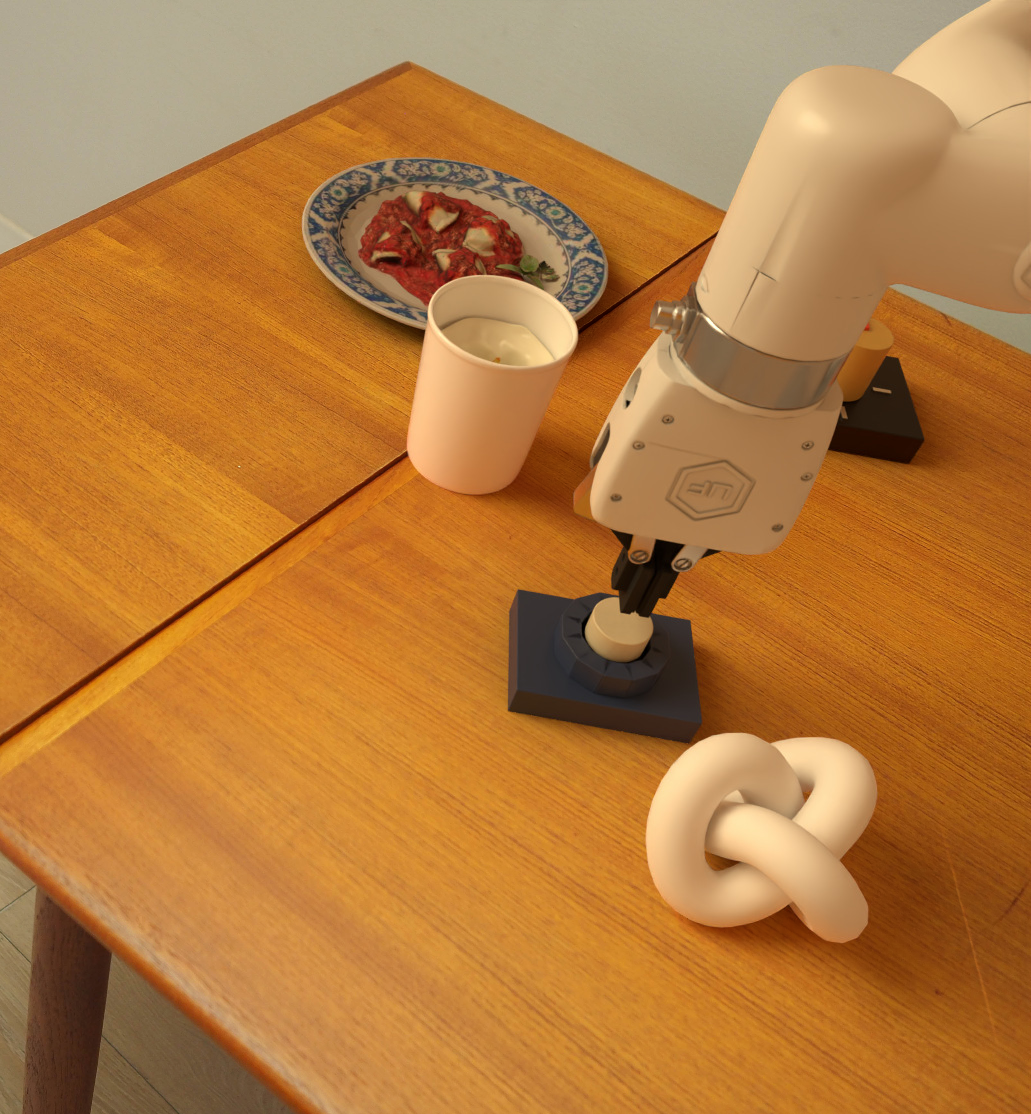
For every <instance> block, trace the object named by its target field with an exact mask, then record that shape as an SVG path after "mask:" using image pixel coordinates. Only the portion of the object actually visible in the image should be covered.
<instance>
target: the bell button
mask: <svg viewBox="0 0 1031 1114" xmlns="http://www.w3.org/2000/svg"><path fill="white" fill-rule="evenodd" d="M652 633H653V623H652V620H651V618H650V617H649V618H646V617H640V616H639V615H638V614H637V613H636V611H635V612H634V613H632V612H631V614H630V615H629V614H624V613H620V605H619V598H617V597H613V598H607V599H604V600H602V601H600V602H599V603H598V604H597V605H596V606H595V607H594V610H593V612H592V614H591V616H590V618H589V620H588V623H587V625H586V627H585V637H586V640H587V642H588V644H589V646H590V647H591V648H592V649H593V650H594V651H595V652H596V653H597V654H598V655H600V656H601V657H603V658H605V659H608V660H611V661H614V662H630V661H633V660H635V659H637V658H638V657H639V656H640V655H641V654H642V652H643V651H644V649H645V647H646V645H647V643H648V641H649V639H650V637H651V635H652Z"/></svg>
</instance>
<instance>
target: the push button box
mask: <svg viewBox="0 0 1031 1114" xmlns="http://www.w3.org/2000/svg"><path fill="white" fill-rule="evenodd" d="M613 597H617V598H619V594H613V593H612V594H611V593H607V592H601V591H600V592H595V593H591V594H588V595H584V596H580V597H577V598H571V597H564V596H559V595H552V594H549V593H548V594H547V593H543V592H536V591H532V590H526V589H520V588H517V590H516V592H515V595H514V598H513V600H512V603H511V605H510V608H509V610H508V662H507V664H508V666H507V671H508V672H507V712H510V713H515V712H516V713H515V714H521V715H527V716H531V715H532V717H536V718H537V717H538V718H543V719H549V720H554V719H556V720H555V721H559V722H560V721H561V722H565V721H566V722H565V723H570V722H571V724H576V723H577V725H582V726H588V727H594V728H599V729H603V730H609V729H610V731H615V730H616V732H621V731H623V732H621V733H627V734H631V735H632V734H633V735H637V734H638V736H643V735H644V736H643V737H648V736H650V737H649V738H655V739H659V738H660V739H659V740H667V741H671V740H672V742H676V741H677V742H676V743H682V744H687V743H688V745H690V744H691V742H692V741H693V740H694V738H695V736H696V735H697V733H698V732H699V730H700V728H701V726H702V725H703V717H702V709H701V699H700V690H699V682H698V681H699V680H698V673H697V664H696V655H695V647H694V646H695V645H694V638H693V629H692V621H691V620H690V619H688V618H687V619H685V618H680V617H676V616H671V615H670V616H669V615H664V614H659V613H654V612H652V613H651V615H650V618H651V620H652V623H653V633H652V635H651V637H650V639H649V641H648V643H647V645H646V647H645V649H644V651H643V652H642V654H641V655H640V656H639V657H638V658H637V659H635V660H633V661H630V662H614V661H611V660H608V659H605V658H603V657H601V656H600V655H598V654H597V653H596V652H595V651H594V650H593V649H592V648H591V647H590V646H589V644H588V642H587V640H586V637H585V627H586V625H587V623H588V620H589V618H590V616H591V614H592V612H593V610H594V607H595V606H596V605H597V604H598V603H599V602H600V601H602V600H604V599H607V598H613ZM689 743H690V744H689Z"/></svg>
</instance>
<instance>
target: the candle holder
mask: <svg viewBox="0 0 1031 1114" xmlns="http://www.w3.org/2000/svg"><path fill="white" fill-rule="evenodd" d="M576 322H577V321H575V320H574V318H573V316H572V315H571V313H570V312H569V311H568V310H567V308H566V307H565V306H564V305H563V304H562V303H561V302H560V301H558V300H557V299H556V298H554V297H553V296H552V295H550V294H549V293H547V292H545V291H544V290H542V289H540V288H538V287H536V286H533V285H531V284H529V283H526V282H523V281H520V280H516V279H512V278H508V277H502V276H494V275H474V276H467V277H462V278H458V279H455V280H453V281H450V282H448V283H446V284H445V285H443V286H442V287H440V288H439V289H438V290H437V291H436V292H435V293H434V295H433V296H432V298H431V300H430V303H429V306H428V318H427V324H426V330H424V336H423V341H422V347H421V353H420V360H419V365H418V371H417V376H416V381H415V387H414V393H413V399H412V405H411V412H410V417H409V423H408V428H407V430H408V431H407V436H406V452H407V456H408V458H409V461H410V462H411V464H412V465H413V467H414V468H415V470H416V471H417V472H418V473H419V474H420V475H421V476H422V477H423V478H425V479H426V480H427V481H428V482H430V483H432V484H434V485H435V486H437V487H440V488H441V489H444V490H447V491H449V492H453V493H457V494H461V495H470V496H481V495H488V494H493V493H497V492H499V491H502V490H504V489H505V488H507V487H508V486H509V485H511V484H512V483H513V482H514V481H515V480H516V478H517V477H518V475H519V474H520V472H521V470H522V467H523V466H524V464H525V461H526V459H527V457H528V455H529V453H530V450H531V448H532V446H533V444H534V441H535V439H536V437H537V435H538V432H539V430H540V427H541V425H542V423H543V421H544V418H545V416H546V414H547V411H548V409H549V407H550V405H551V402H552V400H553V398H554V395H555V393H556V391H557V388H558V386H559V384H560V381H561V379H562V377H563V375H564V372H565V370H566V368H567V366H568V363H569V362H570V359H571V357H572V355H573V353H574V352H575V350H576V348H577V346H578V342H579V330H578V326H577V323H576Z"/></svg>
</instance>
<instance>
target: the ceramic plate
mask: <svg viewBox="0 0 1031 1114" xmlns="http://www.w3.org/2000/svg"><path fill="white" fill-rule="evenodd" d="M312 192H313V193H312V194H311V195H310V196H309V198H308V200H307V201H306V204H305V205H304V208H303V209H304V210H303V212H302V217H301V233H302V234H301V235H302V238H303V242H304V244H305V247H306V249H307V252H308V254H309V255H310V257H311V259H312V261H313V262H314V264H315V265H316V266H317V268H318V269H319V270H320V272H322V274H323V275H324V276H325V277H326V278H327V279H328V280H329V281H330V282H331V283H332V284H333V285H335V286H336V287H337V288H338V289H339V290H341V292H343V293H345V294H346V295H347V296H348V297H350V298H352V300H355V301H356V302H358V303H359V304H360V305H362V306H364V307H366V308H368V309H369V310H371V311H374V312H376V313H378V314H379V315H382V316H384V317H386V318H389V319H391V320H394V321H396V322H398V323H401V324H404V325H407V326H409V327H413V328H416V329H420V330H423V331H425V330H426V324H427V318H428V306H429V303H430V300H431V298H432V296H433V295H434V293H435V292H436V291H437V290H438V289H439V288H440V287H442V286H443V285H445V284H446V283H448V282H450V281H453V280H455V279H458V278H462V277H467V276H474V275H494V276H502V277H508V278H512V279H516V280H520V281H523V282H526V283H529V284H531V285H533V286H536V287H538V288H540V289H542V290H544V291H545V292H547V293H549V294H550V295H552V296H553V297H554V298H556V299H557V300H558V301H560V302H561V303H562V304H563V305H564V306H565V307H566V308H567V310H568V311H569V312H570V313H571V315H572V316H573V318H574V320H575V322H577V321H579V320H580V319H581V318H583V317H585V316H586V315H587V314H588V313H589V312H590V311H591V310H592V309H593V308H594V307H595V306H596V305H597V304H598V303H599V301H600V300H601V297H602V296H603V294H604V292H605V290H606V287H607V284H608V281H609V280H608V278H609V263H608V259H607V258H608V257H607V255H606V252H605V249H604V247H603V245H602V243H601V241H600V238H599V237H598V236H597V235H596V233H595V232H594V231H593V229H592V227H590V225H588V223H587V222H586V221H585V220H584V219H583V218H582V217H581V216H580V215H579V214H577V213H576V212H575V211H574V210H573V209H572V208H571V207H570V206H569V205H567V204H566V203H564V202H563V201H561V200H560V199H558V198H557V197H555V196H553V195H552V194H551V193H549V192H547V191H546V190H544V189H542V188H540V187H538V186H537V185H534V184H532V183H530V182H528V181H526V180H524V179H522V178H519V177H517V176H514V175H512V174H509V173H507V172H503V171H500V170H497V169H494V168H490V167H487V166H483V165H481V164H476V163H472V162H467V161H460V160H453V159H447V158H440V157H439V158H437V157H427V156H426V157H422V156H421V157H420V156H419V157H414V156H413V157H412V156H411V157H390V158H389V157H388V158H384V159H379V160H374V161H369V162H365V163H360V164H357V165H353V166H351V167H349V168H347V169H344V170H341V171H340V172H338V173H336V174H334V175H332V176H331V177H329V178H327V179H326V180H325V181H324V182H322V183H321V184H320V185H319V186H318V187H317V188H316V189H315V190H314V191H312Z"/></svg>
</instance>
